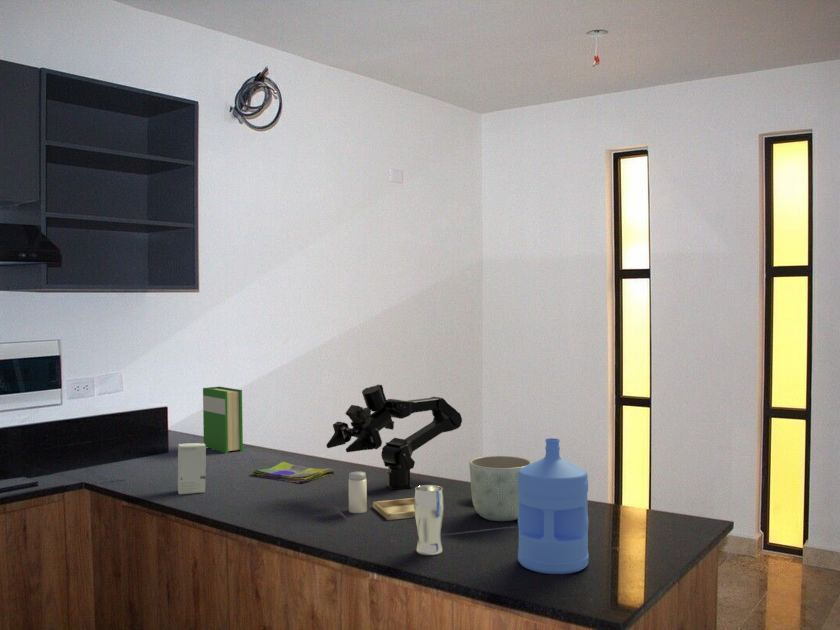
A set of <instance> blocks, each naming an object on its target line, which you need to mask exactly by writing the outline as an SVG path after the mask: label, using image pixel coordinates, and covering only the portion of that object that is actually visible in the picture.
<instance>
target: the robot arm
mask: <svg viewBox="0 0 840 630" xmlns="http://www.w3.org/2000/svg"><path fill="white" fill-rule="evenodd" d="M361 394H362V397H363V400H364V403H365V405H366V407H362V406H359V405H355V404H351V405H350V406H349V408H348V409H346V411H345V415H346V416H348V418H349V419H350V420H351V422H350V425H351V427H349V425H348V423H347V422H342V421H336V422H335V423H333V425H332V427H333V431H334V433H333V435H332V436H331V438H330V439H329V440H328V442H327V443H326V448H327V449H331V448H336V447H338V446H343V445H346V443H349V442H350V441H351V440H352V437H354V438H356V439H355V440H354V441H353V442H352V443H350V444H349V445H348V446H347V447H346V448H345V452H346V453H353V452H360V451H369V450H372V451H373V450H378V449H380V447H382V444H383V441H382V438H381V435H380V431H382V429H386V430H392V431H393V430H394V428H395V421H393V419H399V420H400V419H405V418H407V417H410V416H411V415H412V414H415V413H422V412H428V411H431V414H432V416H433V419H432V421H431V422H430V423H428V424H427V425H425V426H423V427H422V428H419V430H416V432H414V433H412V434H411V435H409V436H407V437H405V438H400V437H393V438H392V439H391V440H389V441H388V442H385V445H384V446H383V447H382V450H381V454H380V455H381V459H382V461H383V463H384V467H386V468H388V471H387V472H386V486H387V487H388V488H390V489H392V490H402V489H412V488H413V486H412V485H411V470H412V469H414V467H415V463H416V462H415V460H414V459H413V458H412V455H413V452H415V451H416V450H418V449H420V447H422V446H424V445H425V444H427V443H428V442H430V441H432V440H433V439H435V438H436V437H438V436H439V435H441V434H443V433H448V432H452V431H455V430H458V429H460V427H461V426H462V423H463V418H462V415H461V413H460V412H459V411H457V409H456V408H454V407H453V406H452V405H450V404H449V403H448V402H447V401H446V400H445V399H444V398H443V397H441V396H440V397H439V396H431V397H424V398H418V399H417V398H416V399H409V400H408V399H407V400H403V399H395V398H388V399H387V397H386V395H385V391H384V388H383V385H382V384H375V385H373V386H369V387H366V388H364V389H362V391H361Z"/></svg>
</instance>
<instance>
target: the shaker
mask: <svg viewBox="0 0 840 630" xmlns="http://www.w3.org/2000/svg"><path fill="white" fill-rule="evenodd" d="M366 475H367V474H366V472H365V471H352V472H351V471H350V472H349V473H348V477H349V478H348V512H349V513H352V514H364V513H366V512H367V511H368V510H367V509H368V504H367V503H368V502H367V500H368V494H367V491H368V490H367V485H368V484H367V482H368V481H367V476H366Z"/></svg>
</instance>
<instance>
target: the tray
mask: <svg viewBox="0 0 840 630" xmlns="http://www.w3.org/2000/svg"><path fill="white" fill-rule="evenodd" d="M414 500H415V497H411V498H410V497H409V498H399V499H390V500H387V499H386V500H378V501H372V508H373V509H374V510H375V511H376V512H377V513H379V514H380V515H381V516H383V518H384V519H385V520H387V521H392V520H403V519H411V518H412V519H413V518H414V519H415V510H414Z"/></svg>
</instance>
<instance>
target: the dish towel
mask: <svg viewBox="0 0 840 630" xmlns="http://www.w3.org/2000/svg"><path fill="white" fill-rule="evenodd" d="M251 472H252V473H251V474H250V476H254V475H257V476H256V477H259V476H261V477H260V478H264V477H266V478H265V479H269V478H274V479H273V480H275V479H279V480H278V481H281V480H285V481H284V482H287V481H289V482H288V483H292V482H294V483H295V482H296V483H295V484H301V482H303V483H307V482H311V481H314V480H313V479H315V480H318V479H321V477H322V478H326V477H329V476H328V475H330V474H333V475H334V474H335V470H334V469H332V468H313V467H307V466H302V465H298V464H297V465H296V464H292V463H288V462H286V461H281V462H280V463H278V464H276V465H273V467H270V468H263V469H253V470H252V471H251ZM325 476H326V477H325ZM330 476H331V475H330ZM317 478H318V479H317ZM310 480H311V481H310ZM306 481H307V482H306Z"/></svg>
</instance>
